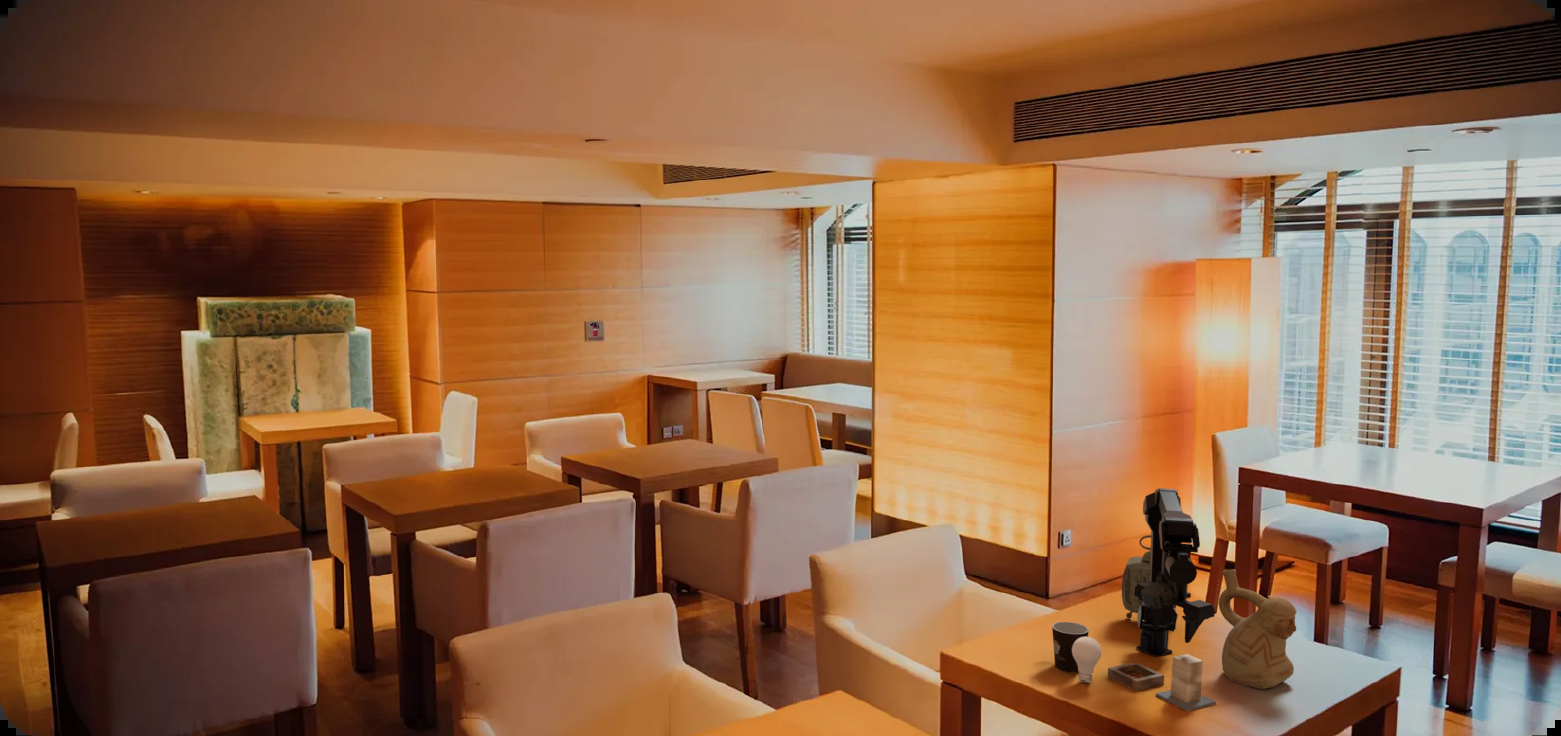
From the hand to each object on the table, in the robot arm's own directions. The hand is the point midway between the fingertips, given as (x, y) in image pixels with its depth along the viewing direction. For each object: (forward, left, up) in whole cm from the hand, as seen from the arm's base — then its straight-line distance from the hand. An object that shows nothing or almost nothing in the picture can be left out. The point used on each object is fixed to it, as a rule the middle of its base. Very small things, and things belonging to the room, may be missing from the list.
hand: (1171, 635), depth 237 cm
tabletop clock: (-29, -33, -13) cm, 46 cm away
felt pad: (+2, +7, -12) cm, 14 cm away
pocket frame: (+4, -6, -12) cm, 14 cm away
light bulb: (+16, -10, -13) cm, 23 cm away
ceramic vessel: (-23, +5, -13) cm, 27 cm away
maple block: (+2, +7, -12) cm, 14 cm away
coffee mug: (+12, -20, -13) cm, 27 cm away
